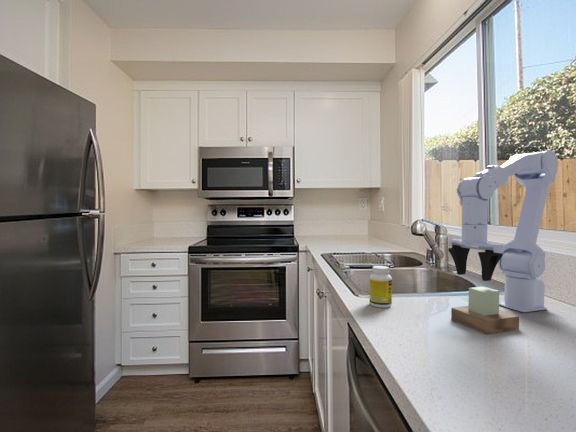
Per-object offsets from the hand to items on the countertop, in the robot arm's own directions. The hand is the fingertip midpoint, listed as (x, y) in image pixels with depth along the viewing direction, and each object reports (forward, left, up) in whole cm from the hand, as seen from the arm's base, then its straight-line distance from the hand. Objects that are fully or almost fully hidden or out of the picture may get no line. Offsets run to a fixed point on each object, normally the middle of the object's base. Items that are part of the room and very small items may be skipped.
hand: (473, 277), depth 85 cm
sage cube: (+2, +5, -7) cm, 9 cm away
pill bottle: (+17, -16, -11) cm, 26 cm away
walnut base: (+2, +5, -10) cm, 11 cm away
